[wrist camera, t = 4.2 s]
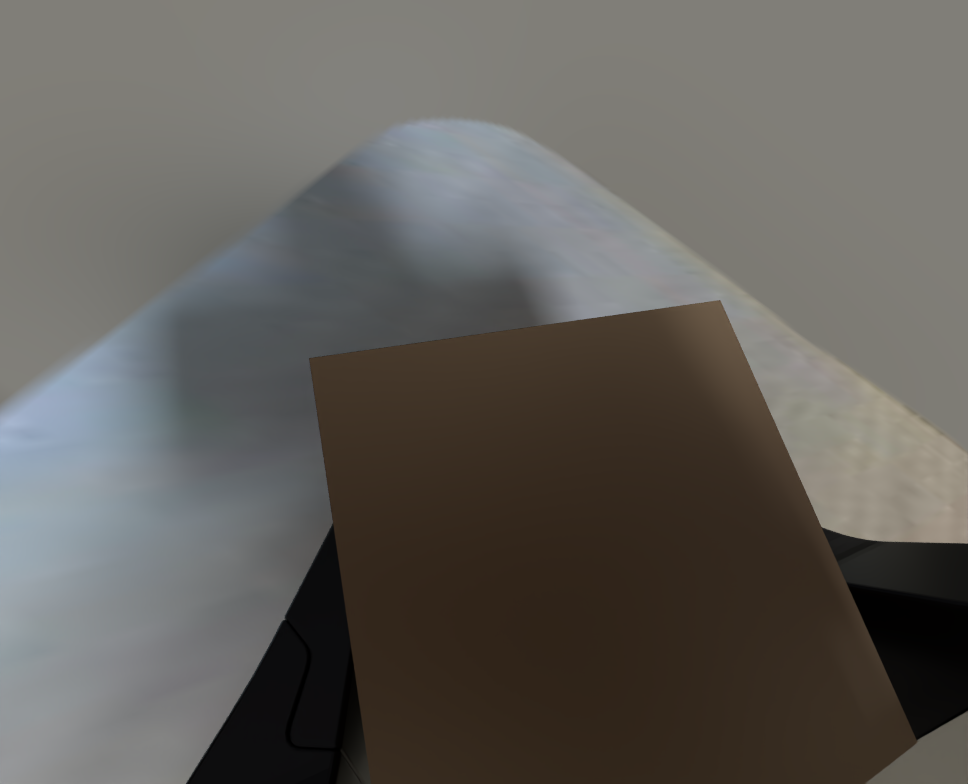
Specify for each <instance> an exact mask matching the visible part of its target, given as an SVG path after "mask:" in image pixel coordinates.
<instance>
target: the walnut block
mask: <svg viewBox="0 0 968 784" xmlns="http://www.w3.org/2000/svg"><path fill="white" fill-rule="evenodd" d="M309 360H310V367H311V374H312V381H313V388H314V395H315V401H316V408H317V415H318V422H319V429H320V436H321V443H322V450H323V457H324V463H325V470H326V477H327V484H328V491H329V498H330V505H331V512H332V518H333V525H334V532H335V539H336V546H337V553H338V560H339V567H340V573H341V580H342V587H343V594H344V601H345V608H346V615H347V622H348V629H349V635H350V642H351V649H352V656H353V663H354V670H355V677H356V684H357V690H358V697H359V704H360V711H361V718H362V725H363V732H364V739H365V745H366V752H367V759H368V766H369V773H370V780H371V784H865V783H867V782H868V781H869V780H870V779H872V778H873V777H874V776H876V775H877V774H878V773H879V772H881V771H882V770H883V769H885V768H886V767H887V766H888V765H890V764H891V763H892V762H894V761H895V760H896V759H897V758H899V757H900V756H901V755H903V754H904V753H905V752H906V751H908V750H909V749H910V748H911V747H913V746H914V745H915V744H917V743H918V742H917V740H916V738H915V736H914V733H913V731H912V729H911V727H910V724H909V722H908V720H907V718H906V715H905V713H904V711H903V709H902V706H901V704H900V702H899V700H898V698H897V695H896V693H895V691H894V689H893V686H892V684H891V682H890V680H889V677H888V675H887V673H886V671H885V668H884V666H883V664H882V662H881V659H880V657H879V655H878V653H877V650H876V648H875V646H874V644H873V642H872V639H871V637H870V635H869V633H868V630H867V628H866V626H865V624H864V621H863V619H862V617H861V615H860V612H859V610H858V608H857V606H856V603H855V601H854V599H853V597H852V594H851V592H850V590H849V588H848V586H847V583H846V581H845V579H844V577H843V574H842V572H841V570H840V568H839V565H838V563H837V561H836V559H835V556H834V554H833V552H832V550H831V547H830V545H829V543H828V541H827V538H826V536H825V534H824V532H823V530H822V527H821V525H820V523H819V521H818V518H817V516H816V514H815V512H814V509H813V507H812V505H811V503H810V500H809V498H808V496H807V494H806V491H805V489H804V487H803V485H802V482H801V480H800V478H799V476H798V474H797V471H796V469H795V467H794V465H793V462H792V460H791V458H790V456H789V453H788V451H787V449H786V447H785V444H784V442H783V440H782V438H781V435H780V433H779V431H778V429H777V426H776V424H775V422H774V420H773V418H772V415H771V413H770V411H769V409H768V406H767V404H766V402H765V400H764V397H763V395H762V393H761V391H760V388H759V386H758V384H757V382H756V379H755V377H754V375H753V373H752V370H751V368H750V366H749V364H748V362H747V359H746V357H745V355H744V353H743V350H742V348H741V346H740V344H739V341H738V339H737V337H736V335H735V332H734V330H733V328H732V326H731V323H730V321H729V319H728V317H727V314H726V312H725V310H724V308H723V306H722V303H721V301H720V300H719V301H711V302H704V303H697V304H690V305H683V306H676V307H669V308H662V309H655V310H648V311H641V312H634V313H626V314H619V315H612V316H605V317H598V318H591V319H584V320H577V321H570V322H563V323H556V324H549V325H541V326H534V327H527V328H520V329H513V330H506V331H499V332H492V333H485V334H478V335H471V336H464V337H456V338H449V339H442V340H435V341H428V342H421V343H414V344H407V345H400V346H393V347H386V348H379V349H371V350H364V351H357V352H350V353H343V354H336V355H329V356H322V357H315V358H309Z"/></svg>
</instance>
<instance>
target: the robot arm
mask: <svg viewBox="0 0 968 784" xmlns="http://www.w3.org/2000/svg"><path fill="white" fill-rule="evenodd" d="M822 530H823V532H824V534H825V536H826V538H827V541H828V543H829V545H830V547H831V550H832V552H833V554H834V556H835V559H836V561H837V563H838V565H839V568H840V570H841V572H842V574H843V577H844V579H845V581H846V583H847V586H848V588H849V590H850V592H851V594H852V597H853V599H854V601H855V603H856V606H857V608H858V610H859V612H860V615H861V617H862V619H863V621H864V624H865V626H866V628H867V630H868V633H869V635H870V637H871V639H872V642H873V644H874V646H875V648H876V650H877V653H878V655H879V657H880V659H881V662H882V664H883V666H884V668H885V671H886V673H887V675H888V677H889V680H890V682H891V684H892V686H893V689H894V691H895V693H896V695H897V698H898V700H899V702H900V704H901V706H902V709H903V711H904V713H905V715H906V718H907V720H908V722H909V724H910V727H911V729H912V731H913V733H914V736H915V738H916V740H917V742H918V743H917V744H915V745H914V746H913V747H911V748H910V749H909V750H908V751H906V752H905V753H904V754H903V755H901V756H900V757H899V758H897V759H896V760H895V761H894V762H892V763H891V764H890V765H888V766H887V767H886V768H885V769H883V770H882V771H881V772H879V773H878V774H877V775H876V776H874V777H873V778H872V779H870V780H869V781H868V782H867V783H865V784H968V544H964V543H920V542H883V541H872V540H865V539H859V538H854V537H850V536H846V535H842V534H839V533H836V532H833V531H830V530H828V529H825V528H822ZM186 784H371V780H370V773H369V766H368V759H367V752H366V745H365V739H364V732H363V725H362V718H361V711H360V704H359V697H358V690H357V684H356V677H355V670H354V663H353V656H352V649H351V642H350V635H349V629H348V622H347V615H346V608H345V601H344V594H343V587H342V580H341V573H340V567H339V560H338V553H337V546H336V539H335V532H334V525H333V524H332V526H331V528H330V530H329V532H328V534H327V536H326V538H325V540H324V542H323V543H322V545H321V547H320V549H319V551H318V553H317V555H316V557H315V559H314V561H313V563H312V565H311V567H310V569H309V571H308V572H307V574H306V576H305V578H304V580H303V582H302V584H301V586H300V588H299V590H298V592H297V594H296V596H295V598H294V599H293V601H292V603H291V605H290V607H289V609H288V611H287V613H286V615H285V620H283V621H282V622H281V624H280V626H279V628H278V630H277V632H276V634H275V636H274V638H273V640H272V642H271V643H270V645H269V647H268V649H267V651H266V653H265V654H264V656H263V658H262V660H261V662H260V664H259V665H258V667H257V669H256V671H255V673H254V674H253V676H252V678H251V680H250V681H249V683H248V685H247V686H246V688H245V689H244V691H243V693H242V694H241V696H240V698H239V699H238V701H237V703H236V704H235V706H234V708H233V709H232V711H231V713H230V714H229V716H228V717H227V719H226V721H225V722H224V724H223V725H222V727H221V729H220V730H219V732H218V733H217V735H216V737H215V738H214V740H213V741H212V743H211V745H210V746H209V748H208V749H207V751H206V752H205V754H204V756H203V757H202V759H201V760H200V762H199V764H198V765H197V767H196V768H195V770H194V772H193V773H192V775H191V776H190V778H189V780H188V781H187V783H186Z"/></svg>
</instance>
